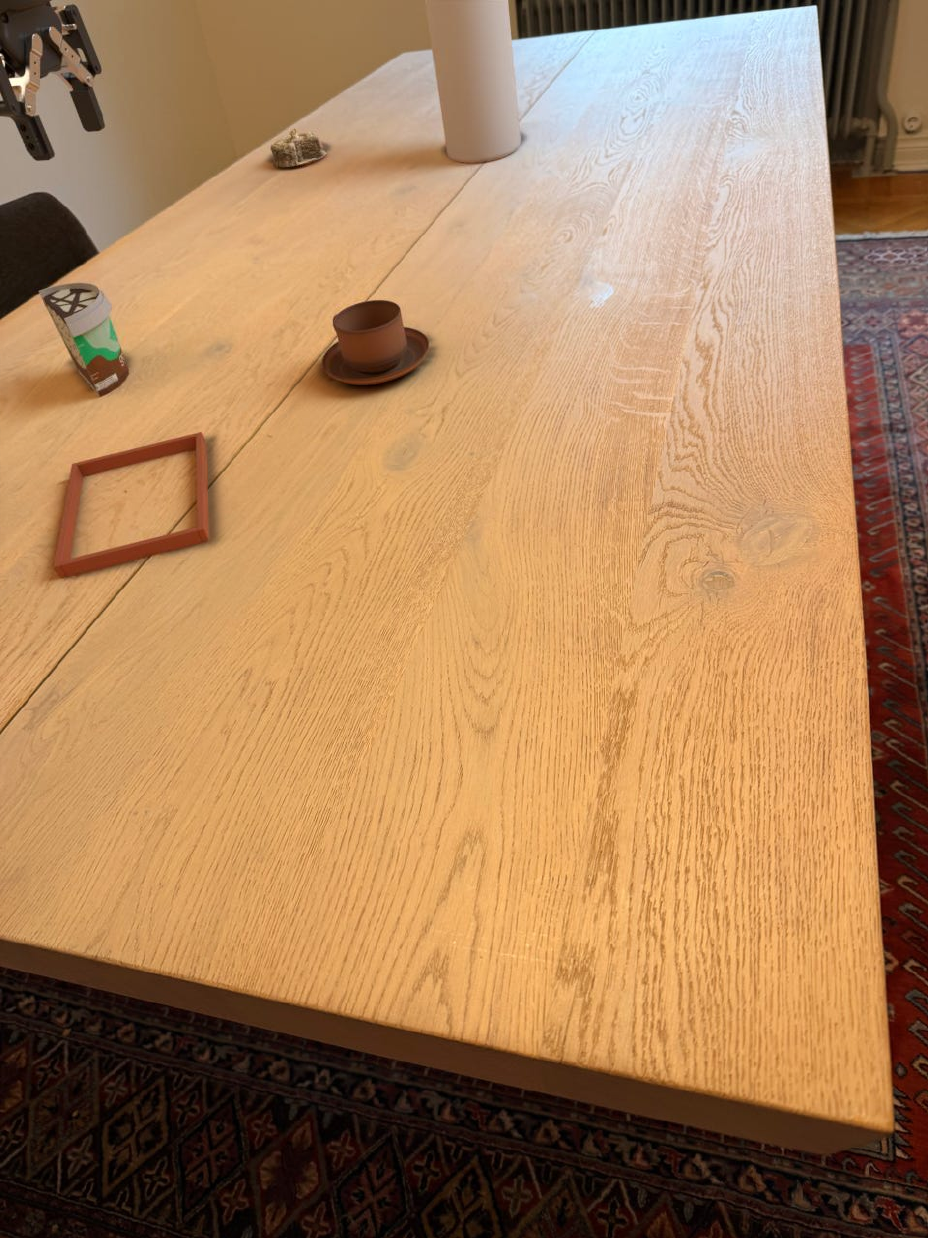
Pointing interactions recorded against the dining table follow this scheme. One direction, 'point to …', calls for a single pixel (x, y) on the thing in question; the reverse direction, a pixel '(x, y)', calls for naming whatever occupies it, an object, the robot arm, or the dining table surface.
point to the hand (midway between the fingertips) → (71, 144)
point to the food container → (88, 333)
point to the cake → (297, 149)
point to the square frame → (141, 548)
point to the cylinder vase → (475, 77)
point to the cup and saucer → (373, 344)
